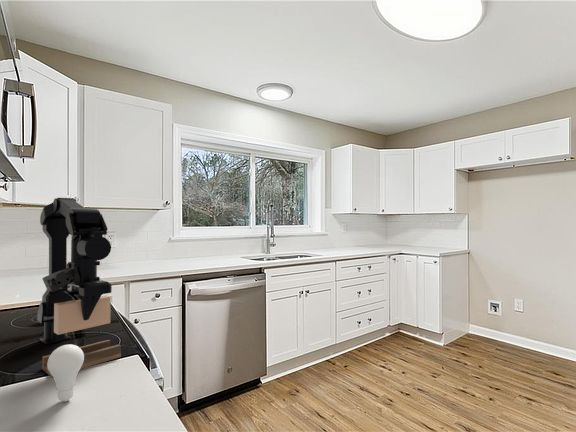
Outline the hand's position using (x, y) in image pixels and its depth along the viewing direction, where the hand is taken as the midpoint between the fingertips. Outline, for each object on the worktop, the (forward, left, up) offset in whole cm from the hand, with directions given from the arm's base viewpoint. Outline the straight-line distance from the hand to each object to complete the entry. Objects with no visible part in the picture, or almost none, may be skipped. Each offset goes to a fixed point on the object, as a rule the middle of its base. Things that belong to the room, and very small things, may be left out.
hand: (83, 318), depth 86 cm
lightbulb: (+18, -10, -11) cm, 23 cm away
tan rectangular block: (0, 0, -2) cm, 2 cm away
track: (0, 0, -11) cm, 11 cm away
